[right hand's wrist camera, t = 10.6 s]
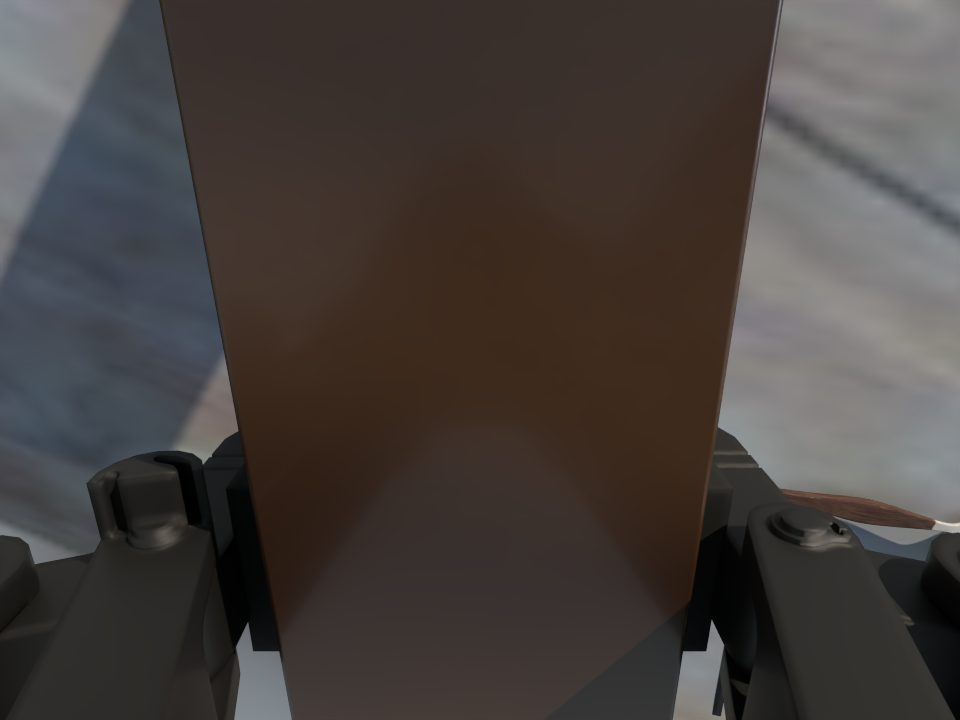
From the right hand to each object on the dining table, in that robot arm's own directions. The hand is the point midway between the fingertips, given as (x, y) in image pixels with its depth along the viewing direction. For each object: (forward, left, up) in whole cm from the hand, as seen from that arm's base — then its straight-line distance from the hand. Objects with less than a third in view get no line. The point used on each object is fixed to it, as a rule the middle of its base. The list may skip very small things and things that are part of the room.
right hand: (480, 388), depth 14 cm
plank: (+11, 0, +1) cm, 11 cm away
